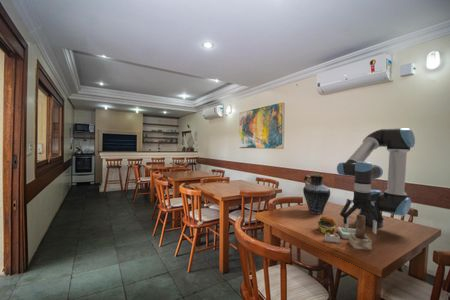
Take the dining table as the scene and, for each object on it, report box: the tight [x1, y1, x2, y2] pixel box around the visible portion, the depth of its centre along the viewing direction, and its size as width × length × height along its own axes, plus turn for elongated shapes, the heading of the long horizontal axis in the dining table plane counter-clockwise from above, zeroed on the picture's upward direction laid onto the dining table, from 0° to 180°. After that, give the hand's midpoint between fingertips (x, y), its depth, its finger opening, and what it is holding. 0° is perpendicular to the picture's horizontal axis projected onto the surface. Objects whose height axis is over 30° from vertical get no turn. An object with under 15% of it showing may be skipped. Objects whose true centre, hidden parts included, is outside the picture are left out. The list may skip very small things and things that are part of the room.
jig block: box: [348, 233, 373, 251], centre depth 116 cm, size 8×8×5 cm
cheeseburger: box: [317, 215, 337, 234], centre depth 135 cm, size 10×11×10 cm
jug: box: [302, 173, 331, 215], centre depth 171 cm, size 21×19×30 cm
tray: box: [337, 226, 356, 240], centre depth 128 cm, size 11×11×2 cm
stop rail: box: [324, 233, 341, 244], centre depth 121 cm, size 7×2×4 cm, turn 76°
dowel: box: [355, 214, 366, 239], centre depth 115 cm, size 4×4×12 cm
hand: (360, 231), depth 115 cm, fingers open, 12 cm apart
